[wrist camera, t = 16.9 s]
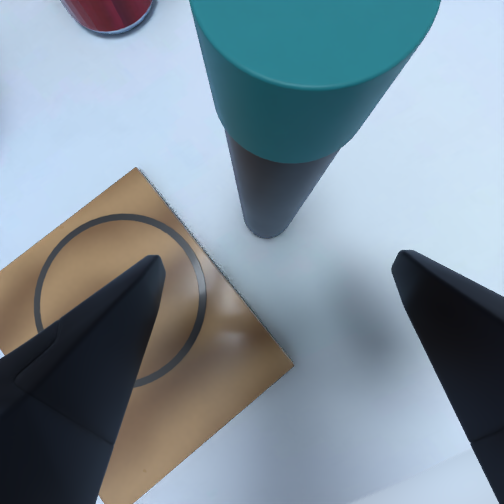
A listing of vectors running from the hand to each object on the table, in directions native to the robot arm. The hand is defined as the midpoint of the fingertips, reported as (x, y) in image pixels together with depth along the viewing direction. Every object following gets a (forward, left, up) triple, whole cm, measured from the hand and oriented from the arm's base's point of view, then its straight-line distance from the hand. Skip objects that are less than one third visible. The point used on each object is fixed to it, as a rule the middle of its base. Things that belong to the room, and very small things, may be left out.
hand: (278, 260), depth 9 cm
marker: (+3, -2, -8) cm, 9 cm away
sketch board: (+3, +10, -8) cm, 13 cm away
